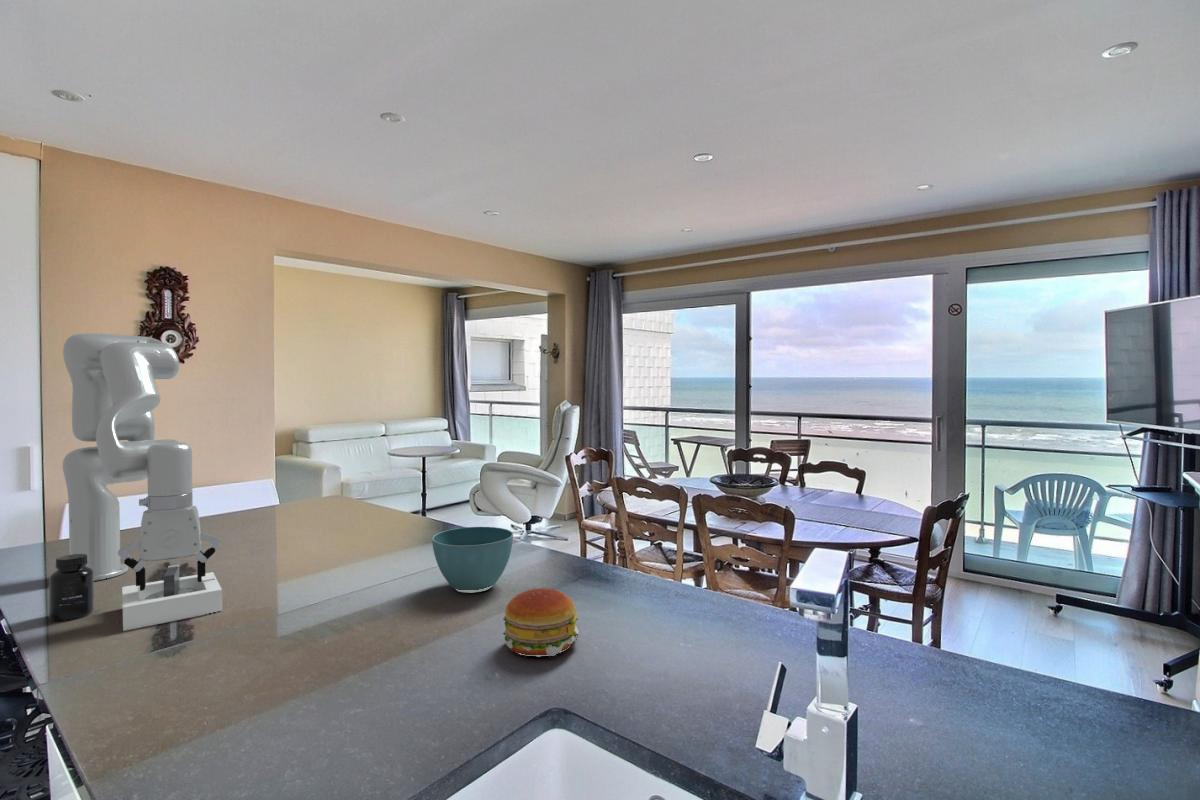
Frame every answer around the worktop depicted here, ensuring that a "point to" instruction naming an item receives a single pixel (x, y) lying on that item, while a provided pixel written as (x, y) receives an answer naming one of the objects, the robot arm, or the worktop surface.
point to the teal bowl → (472, 555)
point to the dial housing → (170, 602)
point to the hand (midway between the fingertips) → (171, 584)
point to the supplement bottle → (71, 588)
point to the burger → (540, 622)
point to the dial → (171, 584)
